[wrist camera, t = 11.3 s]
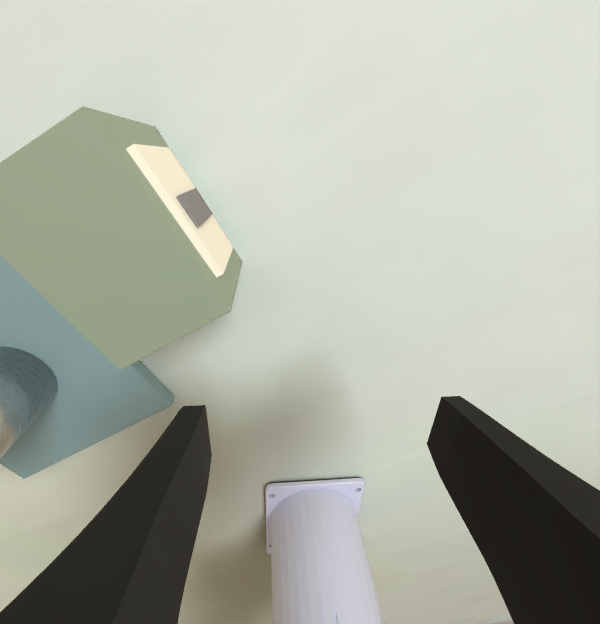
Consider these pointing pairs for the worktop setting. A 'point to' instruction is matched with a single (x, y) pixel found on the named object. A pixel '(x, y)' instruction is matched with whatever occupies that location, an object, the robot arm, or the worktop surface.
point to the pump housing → (115, 235)
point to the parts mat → (69, 381)
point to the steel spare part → (22, 392)
